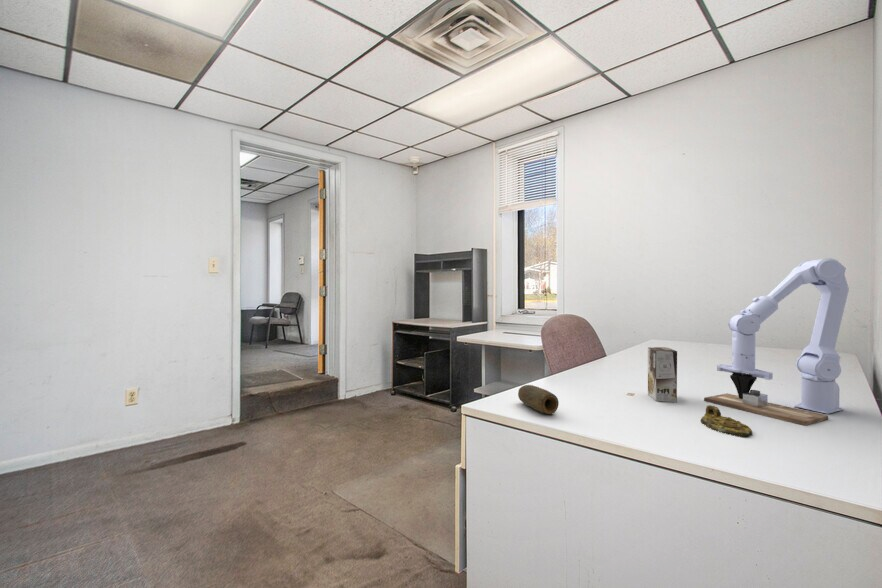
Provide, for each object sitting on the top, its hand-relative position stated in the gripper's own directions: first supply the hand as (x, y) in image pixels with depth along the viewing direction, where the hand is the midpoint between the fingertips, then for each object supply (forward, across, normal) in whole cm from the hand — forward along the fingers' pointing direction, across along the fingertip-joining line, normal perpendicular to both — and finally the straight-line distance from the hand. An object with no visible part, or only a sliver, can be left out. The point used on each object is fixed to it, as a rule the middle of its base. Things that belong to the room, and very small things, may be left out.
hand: (743, 398), depth 125 cm
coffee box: (+2, -16, -15) cm, 22 cm away
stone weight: (+2, -24, -59) cm, 64 cm away
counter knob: (+1, +3, 0) cm, 3 cm away
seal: (+3, +10, -25) cm, 27 cm away
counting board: (+2, +5, 0) cm, 5 cm away
